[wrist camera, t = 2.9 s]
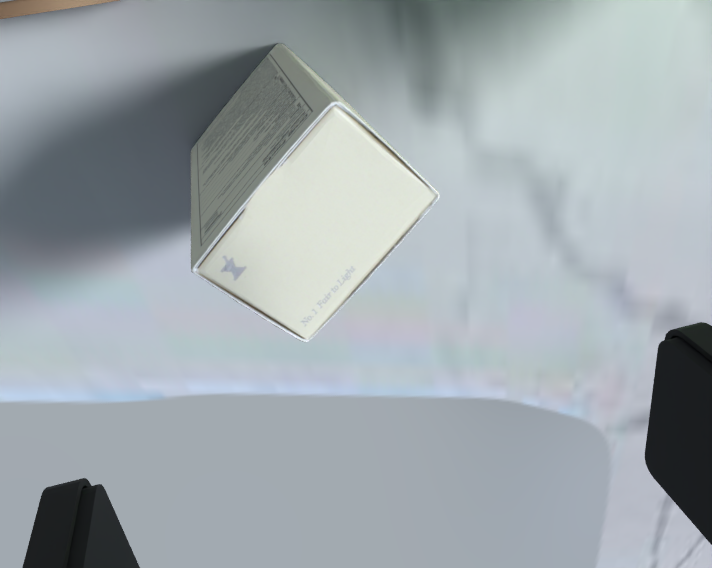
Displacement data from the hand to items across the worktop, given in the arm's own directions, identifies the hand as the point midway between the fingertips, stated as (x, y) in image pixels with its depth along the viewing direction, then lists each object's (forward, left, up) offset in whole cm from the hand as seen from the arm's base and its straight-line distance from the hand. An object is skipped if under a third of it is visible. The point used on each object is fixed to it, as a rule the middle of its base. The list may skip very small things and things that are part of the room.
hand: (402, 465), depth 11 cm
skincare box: (0, 0, -21) cm, 21 cm away
